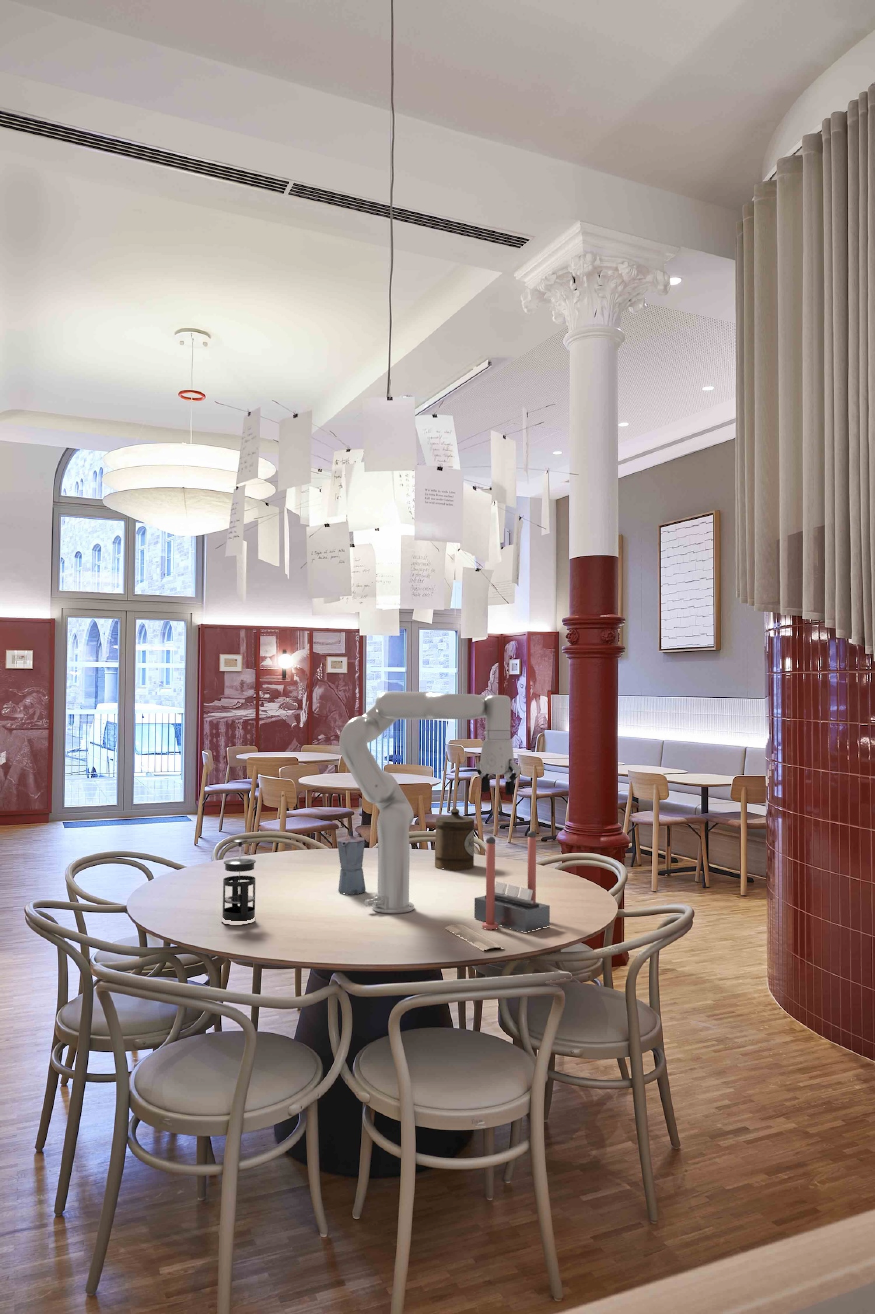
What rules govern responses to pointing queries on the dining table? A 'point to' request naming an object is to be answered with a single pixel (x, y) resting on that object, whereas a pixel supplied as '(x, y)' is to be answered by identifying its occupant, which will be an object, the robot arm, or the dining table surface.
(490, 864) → the near post
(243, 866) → the french press
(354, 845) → the moka pot
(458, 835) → the wooden container
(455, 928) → the beige flat board
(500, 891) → the breaker paddles
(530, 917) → the box
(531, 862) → the far post
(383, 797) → the robot arm
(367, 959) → the dining table surface
